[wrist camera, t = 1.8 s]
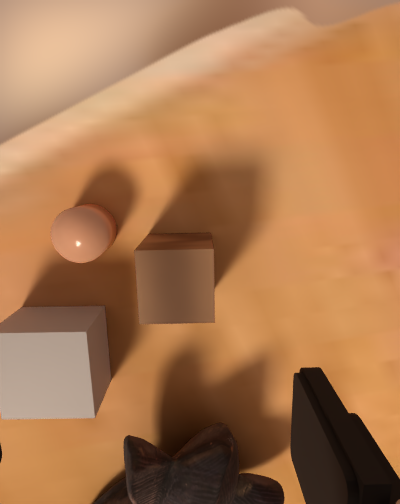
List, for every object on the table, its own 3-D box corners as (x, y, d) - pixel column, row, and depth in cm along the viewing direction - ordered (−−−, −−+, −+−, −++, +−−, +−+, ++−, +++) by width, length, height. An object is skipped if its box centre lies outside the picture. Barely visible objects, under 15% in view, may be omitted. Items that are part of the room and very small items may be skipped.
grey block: (105, 304, 29) (86, 331, 24) (111, 378, 30) (94, 418, 26) (22, 306, 29) (-14, 333, 24) (33, 380, 31) (1, 419, 26)
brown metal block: (211, 232, 27) (213, 248, 22) (211, 291, 29) (214, 322, 23) (148, 233, 27) (134, 250, 22) (151, 293, 29) (139, 324, 23)
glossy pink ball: (114, 203, 27) (104, 206, 24) (118, 252, 28) (109, 262, 25) (64, 204, 27) (47, 208, 24) (69, 253, 28) (54, 263, 25)
